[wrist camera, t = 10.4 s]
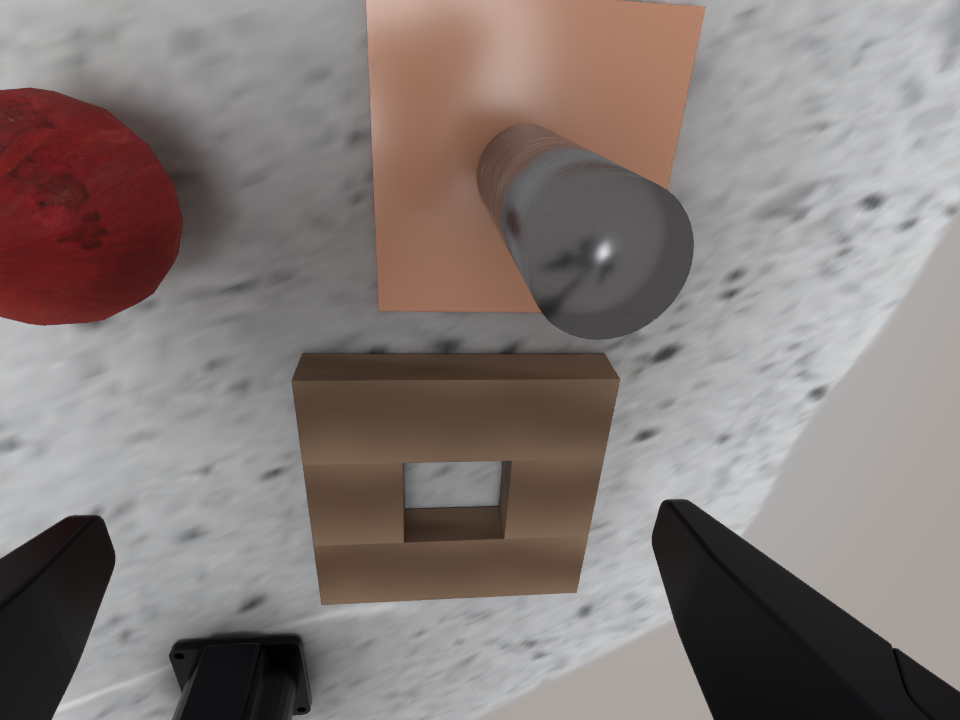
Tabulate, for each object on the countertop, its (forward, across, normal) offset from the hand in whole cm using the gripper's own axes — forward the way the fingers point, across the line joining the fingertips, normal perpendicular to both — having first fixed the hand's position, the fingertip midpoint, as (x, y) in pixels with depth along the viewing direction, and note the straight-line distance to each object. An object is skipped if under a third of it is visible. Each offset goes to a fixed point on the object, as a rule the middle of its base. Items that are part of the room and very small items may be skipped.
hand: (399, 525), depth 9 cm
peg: (+12, -4, -4) cm, 13 cm away
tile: (+12, -4, -4) cm, 14 cm away
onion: (+13, +9, -3) cm, 16 cm away
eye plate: (+13, -2, +9) cm, 16 cm away
